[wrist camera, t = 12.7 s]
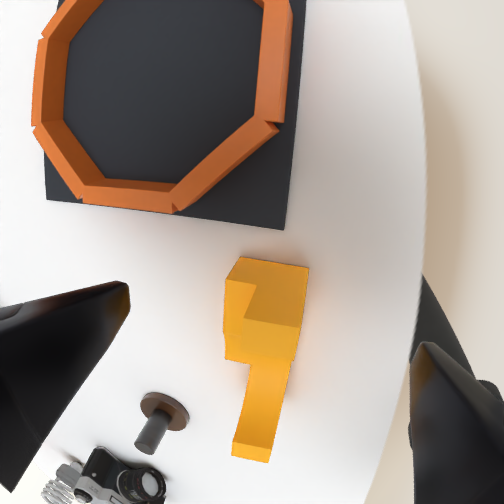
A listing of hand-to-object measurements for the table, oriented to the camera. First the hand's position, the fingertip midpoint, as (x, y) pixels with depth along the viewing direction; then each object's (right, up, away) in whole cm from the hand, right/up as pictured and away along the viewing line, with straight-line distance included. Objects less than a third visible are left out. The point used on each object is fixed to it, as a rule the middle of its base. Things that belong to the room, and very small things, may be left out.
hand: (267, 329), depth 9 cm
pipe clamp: (0, -4, +14) cm, 14 cm away
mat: (-7, +14, +8) cm, 17 cm away
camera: (-16, -31, +28) cm, 45 cm away
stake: (-9, -13, +19) cm, 25 cm away
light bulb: (-33, -37, +35) cm, 61 cm away
